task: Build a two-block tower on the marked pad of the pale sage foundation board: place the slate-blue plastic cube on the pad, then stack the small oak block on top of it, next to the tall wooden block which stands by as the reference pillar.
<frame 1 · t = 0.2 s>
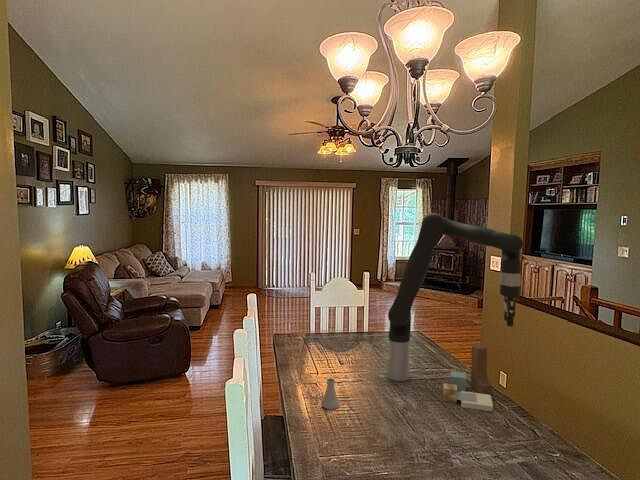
hand: (508, 323, 162), 29 cm above the table, fingers open, 8 cm apart
wooden block: (481, 391, 164), on the table
oak block: (449, 398, 157), on the table
flask: (330, 406, 151), on the table
cube: (457, 388, 167), on the table
foundation board: (476, 403, 153), on the table
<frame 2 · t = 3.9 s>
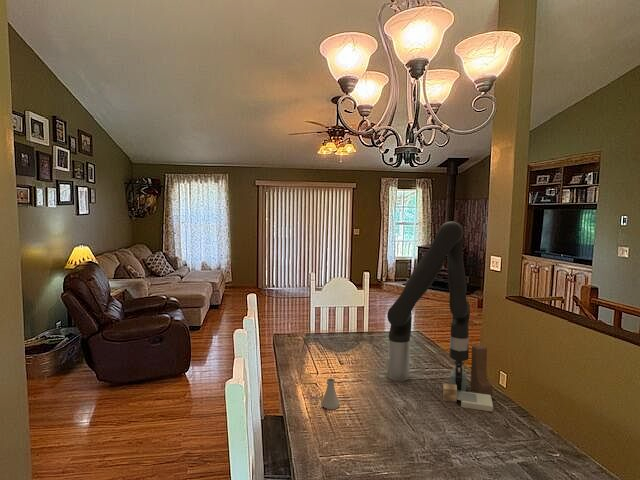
hand: (458, 386, 167), 1 cm above the table, fingers closed on cube, 6 cm apart
cube: (458, 388, 167), on the table, touching gripper
everything else where it was.
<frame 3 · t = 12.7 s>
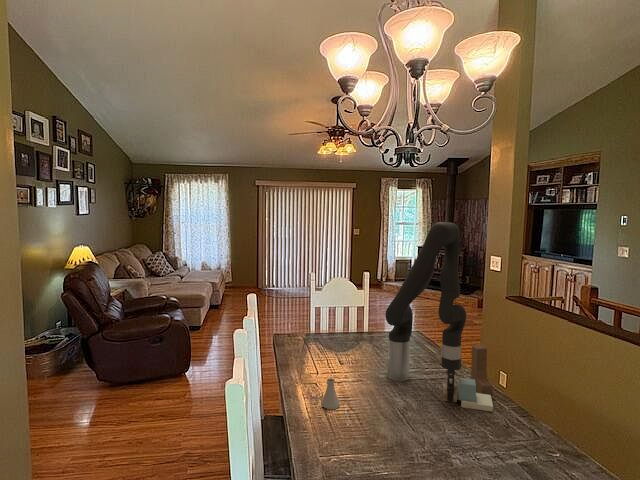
hand: (450, 397, 157), 0 cm above the table, fingers closed on oak block, 5 cm apart
oak block: (449, 398, 157), on the table, touching gripper
cube: (466, 396, 154), point 2 cm above the table, touching foundation board
everything else where it was.
when the fingers open (9 cm above the table, at t = 16.7 s): oak block stays where it is, resting on cube.
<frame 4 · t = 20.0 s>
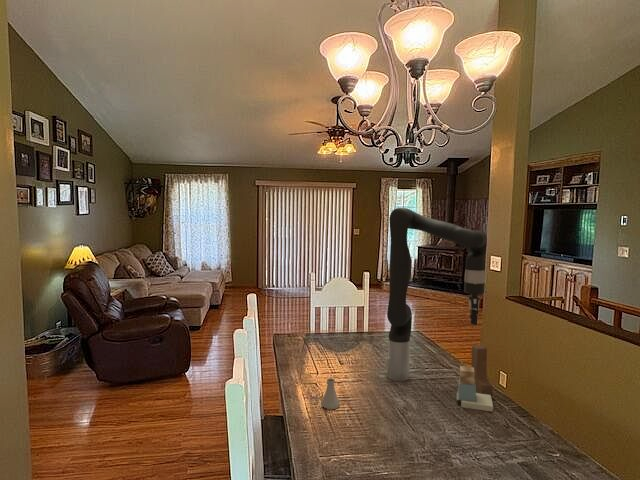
hand: (473, 321, 158), 30 cm above the table, fingers open, 8 cm apart
oak block: (466, 381, 154), point 8 cm above the table, touching cube
cube: (466, 396, 154), point 2 cm above the table, touching foundation board, oak block
everything else where it was.
at the end: oak block inside the target area (0.1 cm from its centre), point 8.1 cm above the table; oak block tilted 0°; cube inside the target area (0.1 cm from its centre), point 2.1 cm above the table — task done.
